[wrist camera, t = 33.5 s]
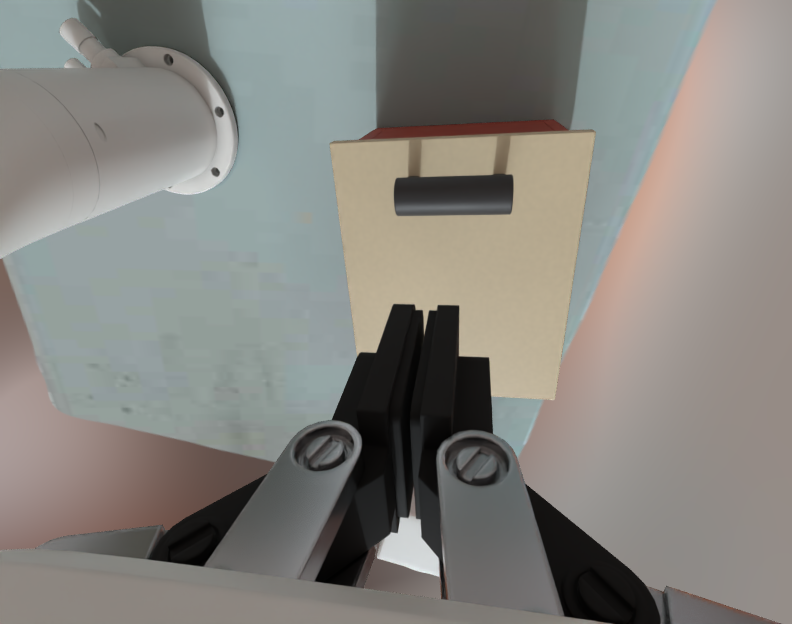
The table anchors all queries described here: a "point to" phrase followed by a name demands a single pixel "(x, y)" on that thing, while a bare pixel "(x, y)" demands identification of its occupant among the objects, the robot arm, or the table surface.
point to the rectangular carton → (409, 546)
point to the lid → (468, 241)
